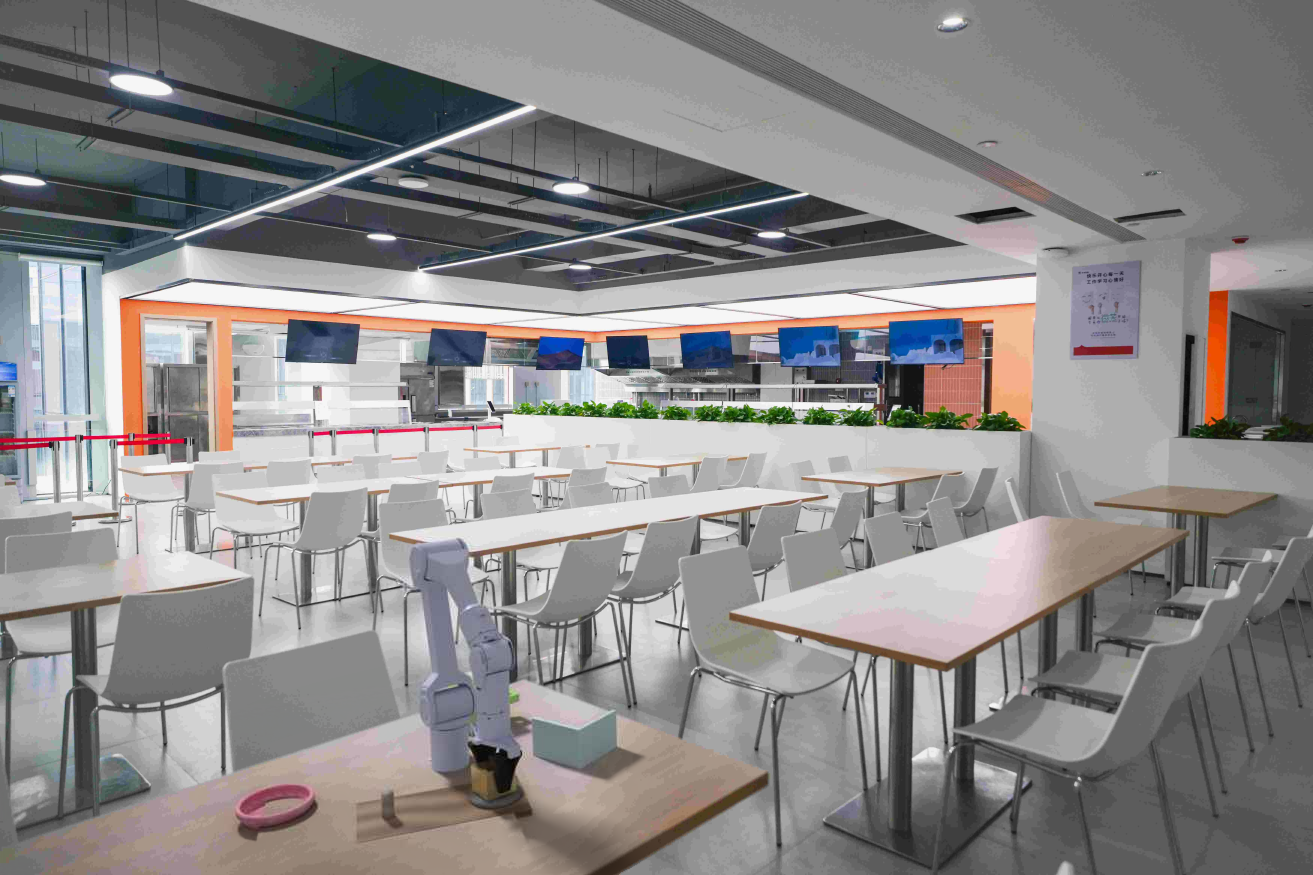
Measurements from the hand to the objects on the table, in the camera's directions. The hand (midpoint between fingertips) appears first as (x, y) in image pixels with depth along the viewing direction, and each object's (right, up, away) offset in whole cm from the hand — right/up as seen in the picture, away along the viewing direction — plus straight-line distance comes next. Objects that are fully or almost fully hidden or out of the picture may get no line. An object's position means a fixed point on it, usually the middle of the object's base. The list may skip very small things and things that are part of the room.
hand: (495, 785), depth 142 cm
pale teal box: (+12, -2, +21) cm, 24 cm away
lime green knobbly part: (-11, -2, +36) cm, 38 cm away
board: (-8, -3, -3) cm, 10 cm away
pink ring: (-37, -4, -3) cm, 38 cm away
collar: (0, -1, 0) cm, 1 cm away
